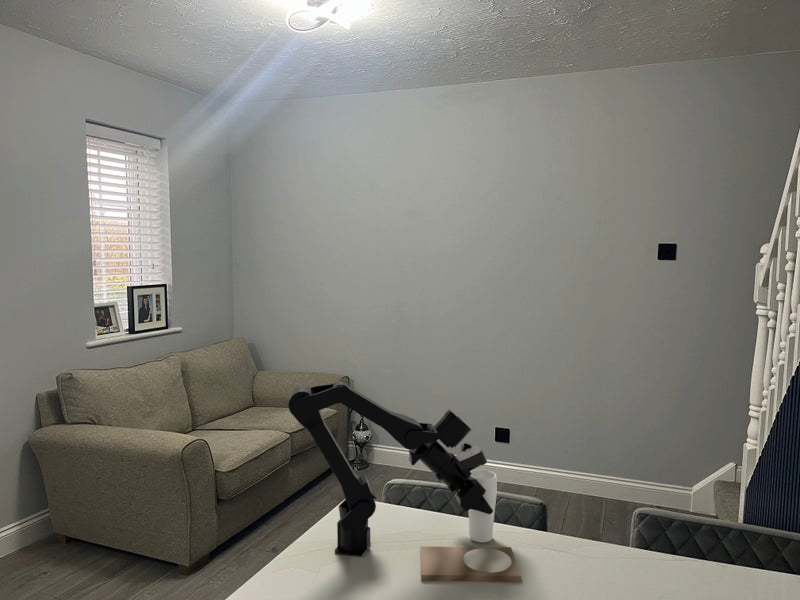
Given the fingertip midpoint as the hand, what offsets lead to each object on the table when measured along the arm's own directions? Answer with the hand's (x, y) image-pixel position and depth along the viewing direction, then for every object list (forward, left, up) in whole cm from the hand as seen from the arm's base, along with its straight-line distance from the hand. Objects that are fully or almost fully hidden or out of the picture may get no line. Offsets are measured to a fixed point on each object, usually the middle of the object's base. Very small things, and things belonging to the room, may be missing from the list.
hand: (487, 506), depth 137 cm
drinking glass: (-1, -1, -8) cm, 8 cm away
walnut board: (-2, -14, -8) cm, 16 cm away
